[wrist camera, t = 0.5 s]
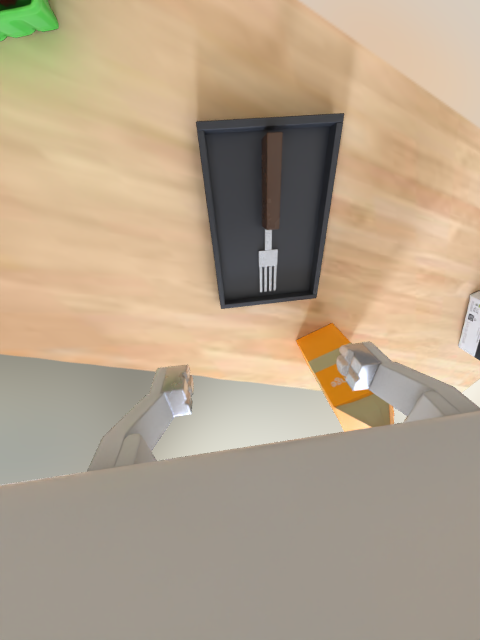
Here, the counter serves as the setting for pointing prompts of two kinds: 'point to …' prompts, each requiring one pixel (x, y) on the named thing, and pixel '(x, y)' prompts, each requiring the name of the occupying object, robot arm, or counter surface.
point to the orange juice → (342, 382)
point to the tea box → (472, 327)
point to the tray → (246, 203)
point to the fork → (270, 205)
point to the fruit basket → (25, 17)
